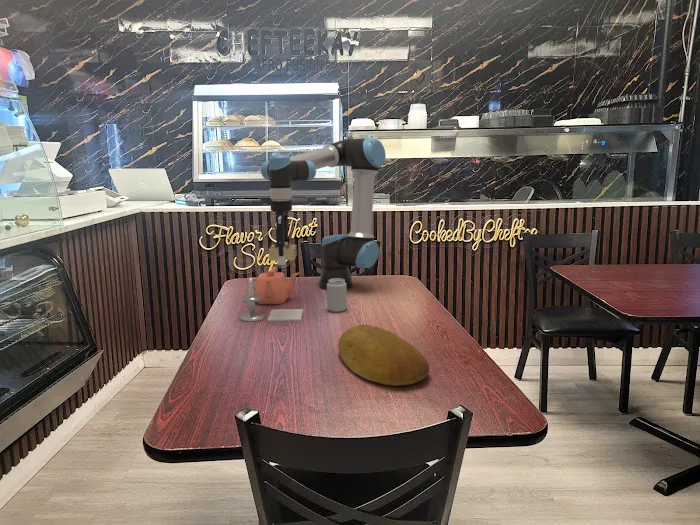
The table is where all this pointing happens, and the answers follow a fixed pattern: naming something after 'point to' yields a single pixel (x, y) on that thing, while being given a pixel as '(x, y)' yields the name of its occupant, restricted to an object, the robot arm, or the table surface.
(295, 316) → the mat
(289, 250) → the link
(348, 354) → the bread
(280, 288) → the pot
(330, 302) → the can
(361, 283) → the table surface
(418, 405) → the table surface
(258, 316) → the stand
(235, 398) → the table surface
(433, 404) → the table surface
